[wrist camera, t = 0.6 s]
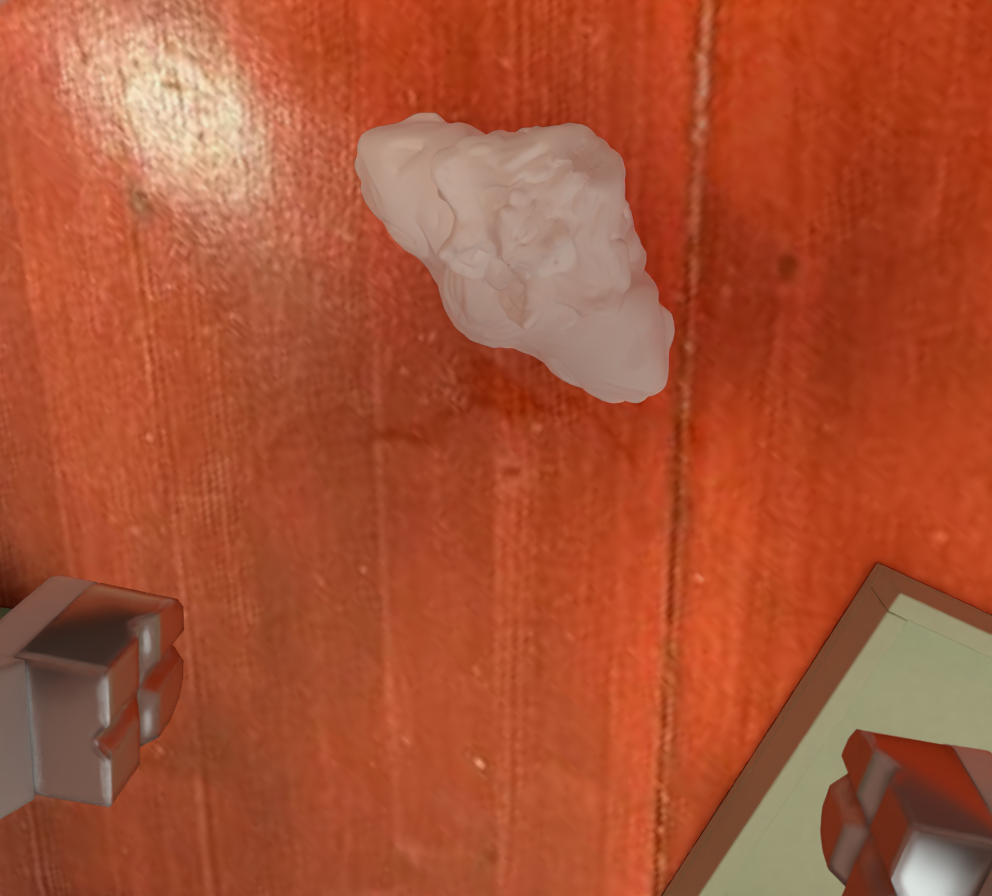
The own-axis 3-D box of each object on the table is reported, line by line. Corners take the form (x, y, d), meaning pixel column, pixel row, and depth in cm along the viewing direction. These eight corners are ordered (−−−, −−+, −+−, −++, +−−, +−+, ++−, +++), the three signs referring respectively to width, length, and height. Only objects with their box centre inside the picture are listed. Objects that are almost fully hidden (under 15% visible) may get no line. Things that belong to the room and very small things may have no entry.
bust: (663, 344, 32) (867, 192, 22) (554, 495, 29) (728, 405, 19) (417, 137, 31) (507, -128, 21) (282, 273, 28) (305, 48, 18)
